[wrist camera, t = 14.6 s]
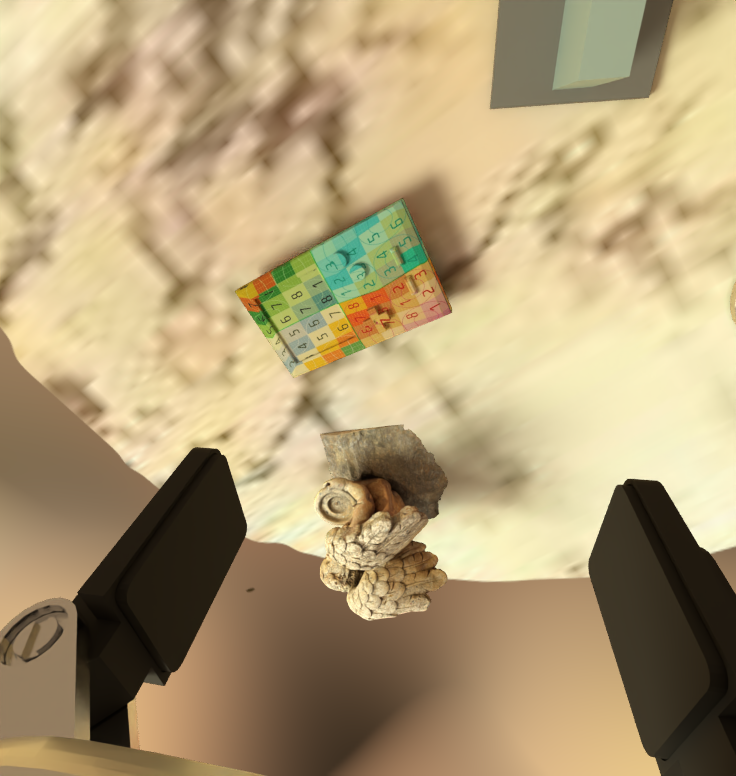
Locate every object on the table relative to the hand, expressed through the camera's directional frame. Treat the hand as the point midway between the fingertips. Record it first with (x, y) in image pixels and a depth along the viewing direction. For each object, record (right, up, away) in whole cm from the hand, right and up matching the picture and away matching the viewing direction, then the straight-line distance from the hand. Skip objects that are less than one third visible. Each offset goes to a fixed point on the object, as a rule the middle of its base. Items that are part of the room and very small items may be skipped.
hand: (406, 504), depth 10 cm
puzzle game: (-3, +14, +36) cm, 39 cm away
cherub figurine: (+1, -10, +50) cm, 51 cm away
